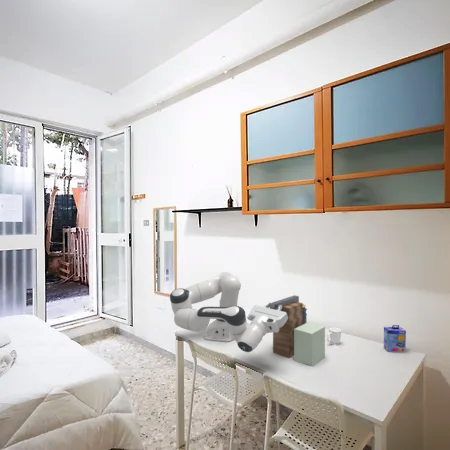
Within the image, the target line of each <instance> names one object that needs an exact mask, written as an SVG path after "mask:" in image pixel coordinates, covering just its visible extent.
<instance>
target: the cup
mask: <svg viewBox="0 0 450 450" xmlns="http://www.w3.org/2000/svg"><path fill="white" fill-rule="evenodd" d="M328 331H329V332H328V334H327V337H326V338H327V339H326V340H327V342H328V344H331V345H336V346H339V345H340V341H341V336H342V333H343V331H342V329H341V328H339V327H330V328H329V329H328ZM329 338H330V339H329Z"/></svg>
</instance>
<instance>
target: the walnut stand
mask: <svg viewBox="0 0 450 450" xmlns="http://www.w3.org/2000/svg"><path fill="white" fill-rule="evenodd" d="M303 304H304V303H303V302H300V303H299V302H296V303H293V304H291V305H288V306H285V307H282V309H281V311H283V312H286V313H287V316H288V320H287V321H286V323H285V324H284V325H283V326H282V327H281V328H279V332H272V353H273V354H276V355H279V356H282V357H285V358H288V359H290V358H292V357H294V329H295V328H297V327H299V326H301V325H303Z"/></svg>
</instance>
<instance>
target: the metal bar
mask: <svg viewBox="0 0 450 450" xmlns="http://www.w3.org/2000/svg"><path fill="white" fill-rule="evenodd" d="M299 297H300V296H299V295H295V294H294V295H291V296H287V297H285V298H282V299H279V300H276V301H273V302H269V303H270V307H269V308H270V309H274V310H277V309H278V306H279V305H282V307H285V306H288V305H291V304H293V303H296V302H299V300H300V298H299Z"/></svg>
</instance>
